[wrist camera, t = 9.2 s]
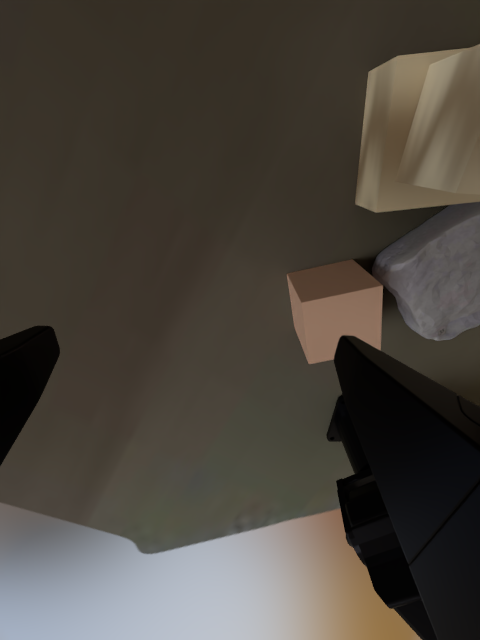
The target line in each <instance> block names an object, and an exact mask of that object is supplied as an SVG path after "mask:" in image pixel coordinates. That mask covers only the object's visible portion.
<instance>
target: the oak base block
mask: <svg viewBox="0 0 480 640" xmlns="http://www.w3.org/2000/svg"><path fill="white" fill-rule="evenodd" d="M466 49H469V48H464V49H455V50H446V51H437V52H428V53H419V54H410V55H401V56H397V57H395V58H393V59H391V60H389V61H387V62H386V63H384V64H382V65H380V66H378V67H377V68H375V69H373V70H371V71H369V73H368V83H367V93H366V102H365V112H364V122H363V132H362V141H361V151H360V161H359V170H358V180H357V190H356V200H355V204H356V205H358V206H361V207H363V208H366V209H368V210H371V211H373V212H375V213H378V212H387V211H396V210H406V209H415V208H425V207H434V206H443V205H453V204H462V203H471V202H480V195H477V194H461V193H452V192H447V191H442V190H436V189H431V188H426V187H421V186H415V185H410V184H405V183H400V182H395V179H396V176H397V173H398V169H399V166H400V163H401V159H402V156H403V152H404V149H405V146H406V142H407V139H408V136H409V132H410V129H411V126H412V122H413V119H414V116H415V112H416V109H417V106H418V102H419V99H420V95H421V92H422V89H423V85H424V82H425V79H426V75H427V72H428V69H429V65H431V64H433V63H435V62H438V61H440V60H443V59H445V58H447V57H450V56H452V55H455V54H457V53H459V52H462V51H464V50H466Z"/></svg>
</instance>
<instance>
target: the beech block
mask: <svg viewBox="0 0 480 640" xmlns="http://www.w3.org/2000/svg"><path fill="white" fill-rule="evenodd" d="M395 182H400V183H405V184H410V185H415V186H421V187H426V188H431V189H436V190H442V191H447V192H452V193H461V194H477V195H480V44H478V45H476V46H474V47H471V48H469V49H466V50H464V51H462V52H459V53H457V54H455V55H452V56H450V57H447V58H445V59H443V60H440V61H438V62H435V63H433V64H431V65H429V69H428V72H427V75H426V79H425V82H424V85H423V89H422V92H421V95H420V99H419V102H418V106H417V109H416V112H415V116H414V119H413V122H412V126H411V129H410V132H409V136H408V139H407V142H406V146H405V149H404V152H403V156H402V159H401V163H400V166H399V169H398V173H397V176H396V179H395Z"/></svg>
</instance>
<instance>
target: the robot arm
mask: <svg viewBox="0 0 480 640" xmlns="http://www.w3.org/2000/svg"><path fill="white" fill-rule="evenodd" d="M59 354H60V348H59V344H58V341H57V338H56V335H55V332H54V329H53V328H52V327H50V326H34V327H32V328H29V329H26V330H24V331H21V332H19V333H16V334H13V335H11V336H8V337H6V338H3V339H1V340H0V466H1V464H2V462H3V461H4V459H5V457H6V456H7V454H8V452H9V450H10V449H11V447H12V445H13V444H14V442H15V440H16V439H17V437H18V435H19V433H20V432H21V430H22V428H23V427H24V425H25V423H26V422H27V420H28V418H29V416H30V415H31V413H32V411H33V410H34V408H35V406H36V404H37V403H38V401H39V399H40V397H41V395H42V393H43V391H44V389H45V387H46V384H47V382H48V380H49V378H50V375H51V373H52V371H53V369H54V366H55V364H56V362H57V360H58V357H59ZM334 363H335V367H336V371H337V375H338V379H339V382H340V386H341V390H342V394H343V396H340V397H339V398H338V399H337V403H336V406H335V409H334V413H333V416H332V419H331V422H330V426H329V429H328V432H327V439H328V441H342V443H343V446H344V448H345V451H346V453H347V456H348V458H349V461H350V463H351V466H352V468H353V471H354V473H355V474H354V475H351V476H349V477H347V478H344V479H339V480H337V481H336V482H337V488H338V490H337V492H338V497H339V502H340V508H341V512H342V518H343V523H344V528H345V532H346V539H347V542H348V544H349V545H350V546H352V547H353V548H354V550H355V551H356V553H357V555H358V557H359V558H360V560H361V561H362V563H363V564H364V565H365V566H366V567H367V569H368V572H369V575H370V578H371V581H372V584H373V587H374V590H375V591H376V593H377V594H378V595H379V596H380V598H381V599H382V600H383V602H384V603H385V604H386V605H387V606H388V607H389V608H391V609H392V608H394V609H395V611H396V612H397V613H398V614H399V615H400V616H401V617H402V618H403V619H404V620H405V621H406V623H407V624H408V625H409V626H410V627H411V628H412V629H413V630H414V631H415V632H416V634H417V635H418V636H419V637H420V638H421V639H422V640H480V407H479V406H477V405H475V404H473V403H472V402H470V401H468V400H466V399H465V398H463V397H461V396H457V394H456V393H454V392H452V391H450V390H449V389H447V388H445V387H443V386H442V385H440V384H438V383H436V382H435V381H433V380H431V379H429V378H427V377H426V376H424V375H422V374H420V373H419V372H417V371H415V370H413V369H412V368H410V367H408V366H406V365H405V364H403V363H401V362H399V361H398V360H396V359H394V358H392V357H391V356H389V355H387V354H385V353H384V352H382V351H380V350H378V349H377V348H375V347H373V346H371V345H369V344H368V343H366V342H364V341H362V340H361V339H359V338H357V337H355V336H352V335H342V336H341V337H340V338H339V341H338V344H337V348H336V351H335V355H334ZM343 400H344V401H343Z"/></svg>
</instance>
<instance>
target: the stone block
mask: <svg viewBox="0 0 480 640" xmlns="http://www.w3.org/2000/svg"><path fill="white" fill-rule="evenodd" d="M372 276H373V277H374V278H375V279H376V280H377V281H378V282H380V283H381V284H383V285H384V286H385V287H386V288H387V289H388V290H389V292H391V293H392V294H393V295H394V296H395V298H396V301H397V306H398V309H399V311H400V312H401V314H402V317H403V319H404V320H405V322H406V324H407V325H408V326H409V327H410V328H411V329H412V330H414V331H415V332H417V333H418V334H420V335H421V336H423V337H425V338H427V339H434V340H436V341H440V340H448V339H452V338H454V337H456V336H457V335H458V334H460V333H461V332H463V331H465V330H467V329H469V328H474V327H476V326H478V325H480V202H471V203H462V204H453V205H449V206H448V207H446V208H445V209H443V210H442V211H440V212H439V213H437V214H436V215H434V216H433V217H431V218H429V219H428V220H427V221H426V222H424V223H423V224H422V225H420V226H419V227H417V228H416V229H414V230H412V231H410V232H409V233H407V234H406V235H404V236H403V237H401V238H400V239H398V240H397V241H395V242H394V243H392V244H391V245H389V246H388V247H387V248H385V249H384V250H383V251H381V252H380V253H379V254H378V256H377V257H376V260H375V262H374V264H373V267H372Z"/></svg>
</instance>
